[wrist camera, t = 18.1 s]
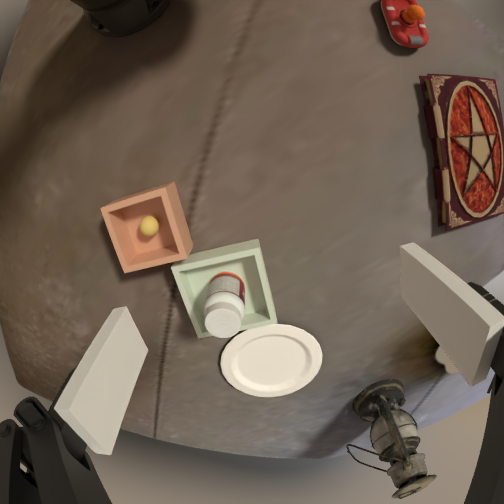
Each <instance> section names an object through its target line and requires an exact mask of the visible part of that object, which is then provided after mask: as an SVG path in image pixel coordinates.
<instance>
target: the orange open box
mask: <svg viewBox="0 0 504 504" xmlns="http://www.w3.org/2000/svg"><path fill="white" fill-rule="evenodd" d="M101 211H102V214H103V217H104V220H105V223H106V226H107V229H108V231H109V234H110V237H111V240H112V242H113V245H114V248H115V250H116V253H117V256H118V258H119V261H120V263H121V266H122V268H123V271H124V273H128V272H132V271H136V270H141V269H145V268H149V267H153V266H158V265H162V264H166V263H170V262H175V261H179V260H183V259H188V257H189V254H190V252H191V250H192V248H193V242H192V239H191V235H190V232H189V229H188V226H187V222H186V219H185V216H184V212H183V209H182V206H181V202H180V199H179V196H178V192H177V189H176V185H175V182H170V183H167V184H164V185H160V186H157V187H154V188H151V189H147V190H144V191H141V192H138V193H135V194H132V195H129V196H126V197H123V198H120V199H117V200H114V201H112V202H111V203H109V204H107V205H105V206H103V207H102V208H101ZM147 216H152V217H154V218H156V219H157V221H158V223H159V230H158V232H157V233H156V234H155V235H153V236H145V235H143V234H142V233H141V231H140V228H139V225H140V222H141V220H142V219H143V218H144V217H147Z"/></svg>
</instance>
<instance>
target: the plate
mask: <svg viewBox="0 0 504 504" xmlns="http://www.w3.org/2000/svg"><path fill="white" fill-rule="evenodd" d="M321 364H322V351H321V348H320V345H319V343H318V342H317V341H316V339H315V338H314V337H313V336H312V335H311V334H309V333H308V332H306V331H305V330H303V329H301V328H298V327H295V326H292V325H288V324H278V323H276V324H271V325H267V326H262V327H257V328H252V329H247V330H245V331H243V332H241V333H240V334H238V335H236V336H235V337H234V338H233V339H232V340H231V341H230V342H229V343H228V344H227V345H226V347H225V349H224V351H223V353H222V356H221V363H220V365H221V369H222V373H223V375H224V377H225V378H226V380H227V381H228V382H229V383H230V384H231V385H232V386H233V387H235V388H236V389H238V390H240V391H242V392H244V393H246V394H250V395H254V396H260V397H275V396H282V395H286V394H289V393H292V392H294V391H296V390H298V389H300V388H302V387H304V386H305V385H306V384H308V383H309V382H310V381H311V380H312V379H313V378H314V377H315V375H316V374H317V373H318V371H319V369H320V366H321Z"/></svg>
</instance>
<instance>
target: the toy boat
mask: <svg viewBox="0 0 504 504" xmlns="http://www.w3.org/2000/svg"><path fill="white" fill-rule="evenodd" d="M381 9H382V12H383V15H384V18H385V21H386V24H387V27H388V29H389V33H390V36H391V38H392V39H393V40H394V41H395V42H396V43H397V44H399V45H401V46H406V47H410V48H421V47H423V46H425V45H426V44H427V42H428V39H429V38H428V33H427V30H426V27H425V25H424V22H423V18H424V15H425V13H424V10H423V9H422V8H421V7H419V6H418V5H417V2H416V0H381Z"/></svg>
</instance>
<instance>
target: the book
mask: <svg viewBox="0 0 504 504" xmlns="http://www.w3.org/2000/svg"><path fill="white" fill-rule="evenodd" d="M419 77H420V81H421V86H422V90H423V95H424V99H425V104H426V106H424V111H425V116H426V122H427V128H428V134H429V137H430V138H431V139H432V146H433V154H434V163H435V168H433V175H434V187H435V198H436V199H437V200H438V227H439V226H443V225H446V231H448V230H451V229H455V228H458V227H461V226H465V225H468V224H471V223H475V222H478V221H481V220H484V219H488V218H491V217H494V216H497V215H500V214H503V213H504V127H503V120H502V113H501V107H500V101H499V95H498V90H497V86H496V81H495V80H494V79H487V78H479V77H469V76H458V75H443V74H427V76H419Z"/></svg>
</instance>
